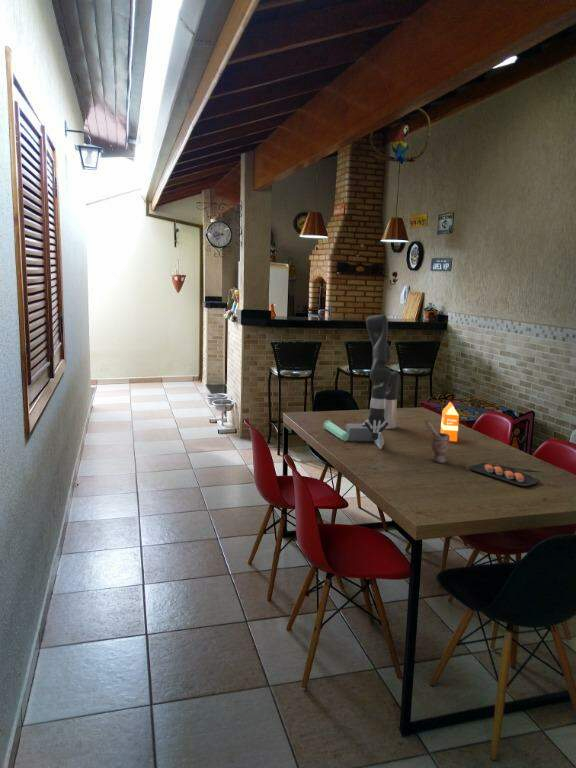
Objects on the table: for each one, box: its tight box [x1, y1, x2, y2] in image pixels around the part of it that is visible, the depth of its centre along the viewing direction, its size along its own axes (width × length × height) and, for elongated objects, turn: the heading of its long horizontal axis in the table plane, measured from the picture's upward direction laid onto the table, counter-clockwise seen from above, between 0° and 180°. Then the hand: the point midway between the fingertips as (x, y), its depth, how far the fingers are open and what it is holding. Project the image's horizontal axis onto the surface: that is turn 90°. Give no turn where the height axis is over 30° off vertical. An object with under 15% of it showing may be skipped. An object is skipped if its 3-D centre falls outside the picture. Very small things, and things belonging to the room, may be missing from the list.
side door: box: [373, 429, 385, 450], centre depth 297 cm, size 14×2×7 cm, turn 5°
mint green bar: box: [323, 420, 349, 442], centre depth 314 cm, size 6×6×25 cm
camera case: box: [345, 422, 374, 442], centre depth 309 cm, size 14×10×8 cm
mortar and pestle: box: [424, 418, 450, 464], centre depth 274 cm, size 12×9×20 cm
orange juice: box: [439, 401, 460, 442], centre depth 314 cm, size 8×9×20 cm
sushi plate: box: [468, 462, 542, 487], centre depth 261 cm, size 29×30×4 cm
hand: (374, 439), depth 293 cm, fingers closed
